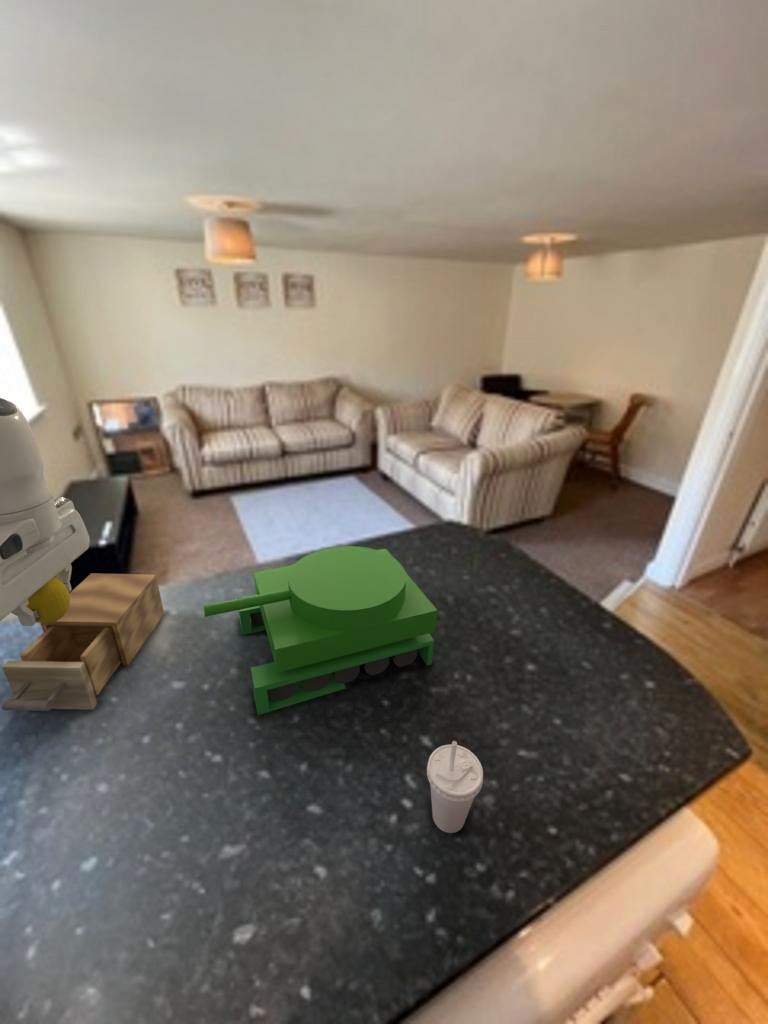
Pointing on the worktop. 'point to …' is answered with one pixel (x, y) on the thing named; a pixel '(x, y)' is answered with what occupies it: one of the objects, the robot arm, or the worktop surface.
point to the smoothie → (453, 785)
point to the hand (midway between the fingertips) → (48, 607)
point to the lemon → (50, 601)
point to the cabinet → (116, 608)
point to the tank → (332, 622)
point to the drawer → (63, 669)
